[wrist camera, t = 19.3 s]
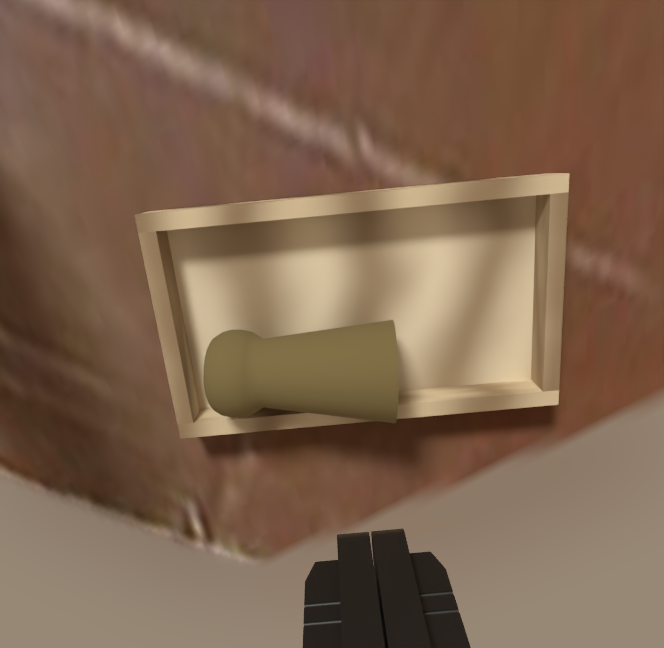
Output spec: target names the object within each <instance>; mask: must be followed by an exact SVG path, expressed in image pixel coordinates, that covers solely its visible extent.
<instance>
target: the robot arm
mask: <svg viewBox="0 0 664 648" xmlns="http://www.w3.org/2000/svg"><path fill="white" fill-rule="evenodd" d="M371 533H372V534H371V535H372V549H373V559H372V551H371V544H370V536H369V532H362V533H351V534H340V535H337V544H338V560H333V561H321V562H315V564H314V566H313V568H312V569H311V571H310V573H309V575H308V577H307V579H306V581H305V602H304V604H305V608H304V631H303V648H470V644H469V641H468V638H467V635H466V632H465V629H464V625H463V622H462V619H461V616H460V613H459V611H458V607H457V603H456V600H455V597H454V595H453V591H452V588H451V584H450V581H449V578H448V575H447V572H446V569H445V568H444V567H443V565H442V564H441V563H440V562H439V561H438V560H437V559H436V557H435V556H434V555H433V554H432V553H431V552H422V553H411V554H410V553H409V549H408V545H407V541H406V537H405V532H404V530H403V529H395V530H383V531H373V532H371ZM373 562H374V566H373Z"/></svg>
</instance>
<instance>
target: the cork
mask: <svg viewBox="0 0 664 648" xmlns="http://www.w3.org/2000/svg"><path fill="white" fill-rule="evenodd" d="M203 378H204V389H205V395H206V398H207V401H208V403H209V405H210V407H211V408H212V409H213V410H214V411H215V412H217V413H219V414H220V415H222V416H227V417H231V418H232V417H244V416H248V415H252V414H255V413H256V412H257V411H259V410H260V409H262V408H263V407H264V408H272V409H281V410H289V411H297V412H306V413H314V414H322V415H330V416H339V417H347V418H355V419H364V420H372V421H380V422H389V423H396V420H397V413H398V354H397V340H396V330H395V325H394V321H393V320H388V321H381V322H374V323H367V324H361V325H354V326H347V327H340V328H333V329H326V330H320V331H313V332H306V333H299V334H292V335H285V336H278V337H272V338H265V339H262V338H261V337H259V336H258V335H256V334H255V333H253V332H250V331H246V330H229V331H225V332H222V333H221V334H219V335H218V336H216V337H215V338H213V339H212V341H211V342H210V344H209V346H208V348H207V351H206V355H205V360H204V376H203Z"/></svg>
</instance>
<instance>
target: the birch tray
mask: <svg viewBox="0 0 664 648" xmlns="http://www.w3.org/2000/svg"><path fill="white" fill-rule="evenodd" d="M568 191H569V173H546V174H536V175H525V176H515V177H504V178H494V179H483V180H473V181H462V182H452V183H441V184H431V185H420V186H410V187H399V188H389V189H379V190H368V191H358V192H347V193H337V194H326V195H316V196H305V197H295V198H284V199H274V200H263V201H253V202H242V203H232V204H221V205H211V206H200V207H190V208H179V209H169V210H158V211H149V212H145V213H141V214H136V215H135V220H136V225H137V230H138V234H139V239H140V244H141V249H142V254H143V259H144V264H145V269H146V273H147V278H148V283H149V288H150V293H151V298H152V303H153V308H154V312H155V317H156V322H157V327H158V332H159V337H160V342H161V347H162V351H163V356H164V361H165V366H166V371H167V376H168V381H169V386H170V390H171V395H172V400H173V405H174V410H175V415H176V420H177V425H178V429H179V434H180V439H181V438H192V437H203V436H215V435H226V434H237V433H248V432H259V431H270V430H282V429H293V428H304V427H315V426H326V425H337V424H348V423H360V422H371V421H372V420H364V419H355V418H347V417H339V416H330V415H322V414H314V413H306V412H297V411H289V410H281V409H272V408H264V407H263V408H262V409H260V410H259V411H257V412H256V413H255V414H252V415H248V416H244V417H232V418H231V417H227V416H222V415H220V414H219V413H217V412H215V411H214V410H213V409H212V408H211V407H210V405H209V403H208V401H207V398H206V395H205V389H204V378H203V376H204V360H205V355H206V351H207V348H208V346H209V344H210V342H211V341H212V339H213V338H215V337H216V336H218V335H219V334H221V333H222V332H225V331H229V330H246V331H250V332H253V333H255V334H256V335H258V336H259V337H261V338H262V339H265V338H272V337H278V336H285V335H292V334H299V333H306V332H313V331H320V330H326V329H333V328H340V327H347V326H354V325H361V324H367V323H374V322H381V321H388V320H393V321H394V325H395V330H396V340H397V354H398V413H397V419H404V418H415V417H427V416H438V415H449V414H460V413H471V412H482V411H494V410H505V409H516V408H527V407H538V406H549V405H558V402H559V381H560V360H561V339H562V317H563V296H564V275H565V254H566V233H567V212H568Z"/></svg>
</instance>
